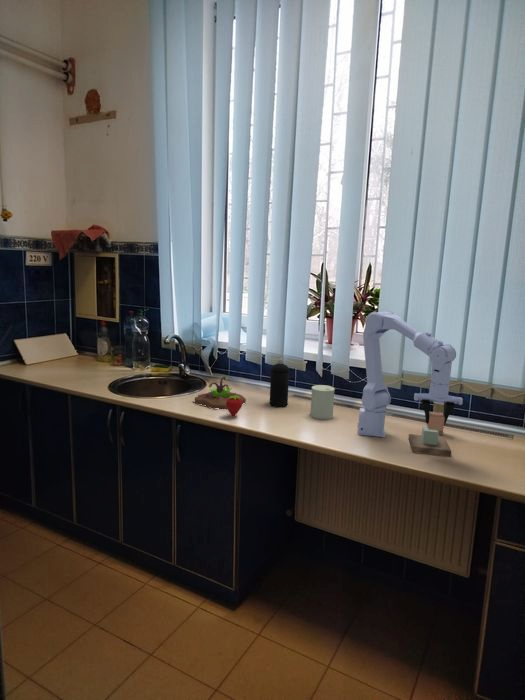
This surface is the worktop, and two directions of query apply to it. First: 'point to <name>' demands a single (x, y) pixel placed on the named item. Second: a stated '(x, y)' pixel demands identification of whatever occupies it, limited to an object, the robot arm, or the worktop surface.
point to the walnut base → (429, 446)
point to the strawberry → (234, 404)
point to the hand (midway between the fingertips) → (435, 423)
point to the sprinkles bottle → (439, 411)
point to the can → (322, 402)
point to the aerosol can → (279, 384)
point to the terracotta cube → (436, 421)
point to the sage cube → (429, 436)
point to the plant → (217, 396)
